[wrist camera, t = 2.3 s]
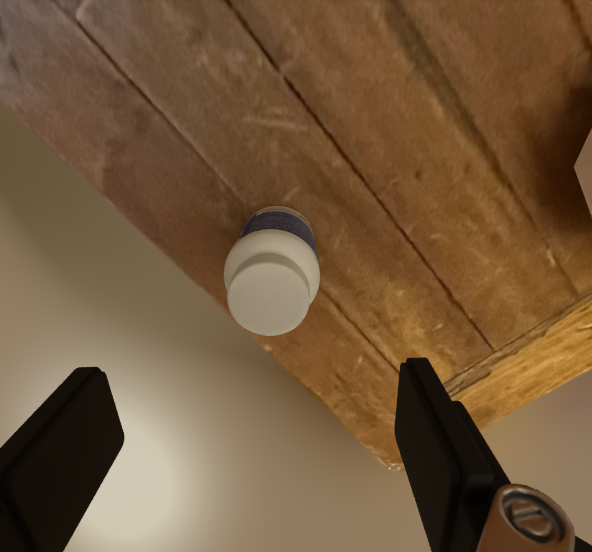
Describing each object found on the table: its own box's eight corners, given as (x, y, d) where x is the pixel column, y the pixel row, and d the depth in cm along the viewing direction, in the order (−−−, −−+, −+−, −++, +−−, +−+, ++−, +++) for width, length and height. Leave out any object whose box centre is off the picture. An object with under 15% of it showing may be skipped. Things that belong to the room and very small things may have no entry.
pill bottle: (237, 205, 24) (203, 250, 16) (313, 202, 24) (323, 245, 15) (245, 275, 27) (219, 350, 18) (315, 272, 26) (324, 346, 18)
